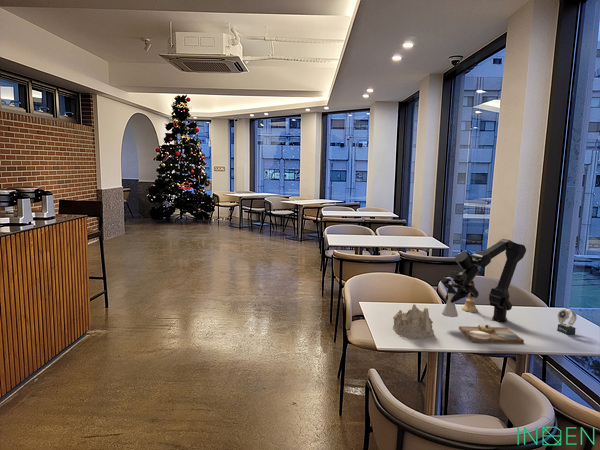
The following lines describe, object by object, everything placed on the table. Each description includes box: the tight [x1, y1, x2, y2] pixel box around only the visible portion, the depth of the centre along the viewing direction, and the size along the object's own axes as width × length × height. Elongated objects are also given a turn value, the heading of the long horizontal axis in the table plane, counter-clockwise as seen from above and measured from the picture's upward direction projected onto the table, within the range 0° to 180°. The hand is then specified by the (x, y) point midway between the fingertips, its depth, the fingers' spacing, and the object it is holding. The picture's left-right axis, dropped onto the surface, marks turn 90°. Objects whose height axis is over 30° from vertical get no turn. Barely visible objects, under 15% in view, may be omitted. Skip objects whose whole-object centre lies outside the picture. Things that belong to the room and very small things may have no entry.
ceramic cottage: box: [392, 303, 435, 340], centre depth 189 cm, size 16×16×15 cm
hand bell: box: [461, 280, 479, 313], centre depth 222 cm, size 8×8×16 cm
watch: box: [556, 308, 578, 336], centre depth 193 cm, size 6×8×11 cm
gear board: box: [458, 324, 525, 345], centre depth 186 cm, size 15×22×4 cm
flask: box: [441, 293, 459, 318], centre depth 193 cm, size 7×7×10 cm
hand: (448, 301), depth 192 cm, fingers closed on flask, 3 cm apart
